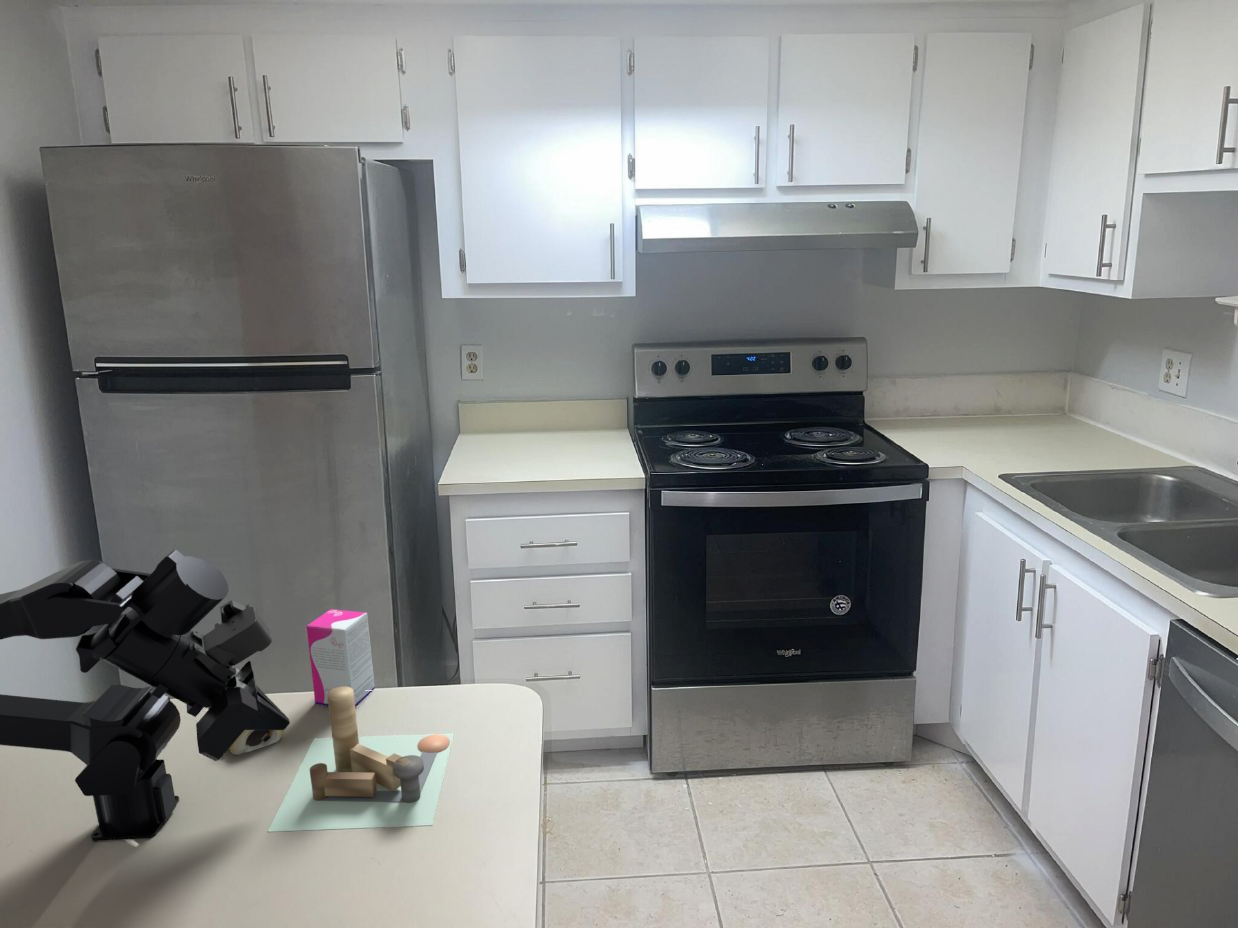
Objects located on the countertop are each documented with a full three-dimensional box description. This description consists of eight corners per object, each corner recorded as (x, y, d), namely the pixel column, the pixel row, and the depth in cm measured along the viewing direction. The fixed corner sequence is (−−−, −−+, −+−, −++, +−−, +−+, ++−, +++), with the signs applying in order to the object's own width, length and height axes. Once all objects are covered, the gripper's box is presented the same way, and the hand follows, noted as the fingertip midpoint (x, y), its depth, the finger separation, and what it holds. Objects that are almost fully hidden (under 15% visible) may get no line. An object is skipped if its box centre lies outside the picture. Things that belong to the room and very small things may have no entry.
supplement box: (376, 688, 120) (368, 611, 117) (352, 711, 115) (344, 631, 112) (338, 683, 122) (330, 606, 119) (313, 705, 116) (303, 626, 113)
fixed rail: (422, 791, 98) (420, 763, 97) (417, 802, 96) (415, 775, 96) (316, 789, 99) (313, 762, 98) (310, 801, 97) (306, 773, 96)
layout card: (267, 833, 92) (267, 830, 92) (314, 740, 109) (314, 737, 109) (432, 827, 93) (432, 823, 93) (454, 735, 109) (454, 732, 109)
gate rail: (432, 791, 98) (425, 715, 95) (410, 807, 95) (403, 729, 93) (351, 755, 105) (343, 683, 102) (329, 769, 102) (320, 695, 99)
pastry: (212, 728, 112) (208, 701, 111) (266, 710, 116) (263, 684, 115) (234, 762, 105) (230, 734, 104) (291, 741, 109) (288, 714, 108)
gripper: (221, 631, 83) (351, 707, 91) (211, 563, 100) (322, 632, 107) (138, 726, 82) (277, 794, 90) (142, 641, 98) (260, 706, 106)
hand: (286, 724), depth 98 cm, fingers closed
